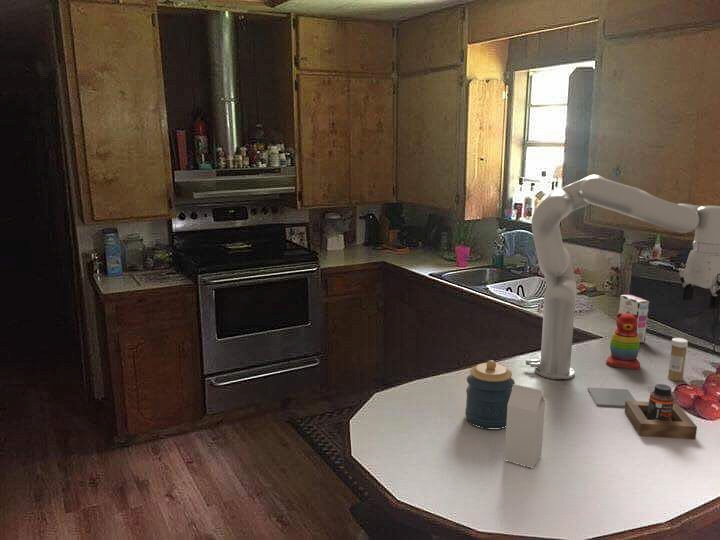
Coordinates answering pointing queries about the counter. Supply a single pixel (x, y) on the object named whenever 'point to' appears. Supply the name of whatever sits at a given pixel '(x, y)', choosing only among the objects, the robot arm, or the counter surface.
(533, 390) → the milk carton
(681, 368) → the sprinkles bottle
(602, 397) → the slate coaster
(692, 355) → the counter surface
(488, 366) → the canister
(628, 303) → the candy bar box
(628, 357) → the stacking bear
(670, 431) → the pocket block
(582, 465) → the counter surface
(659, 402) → the supplement bottle
